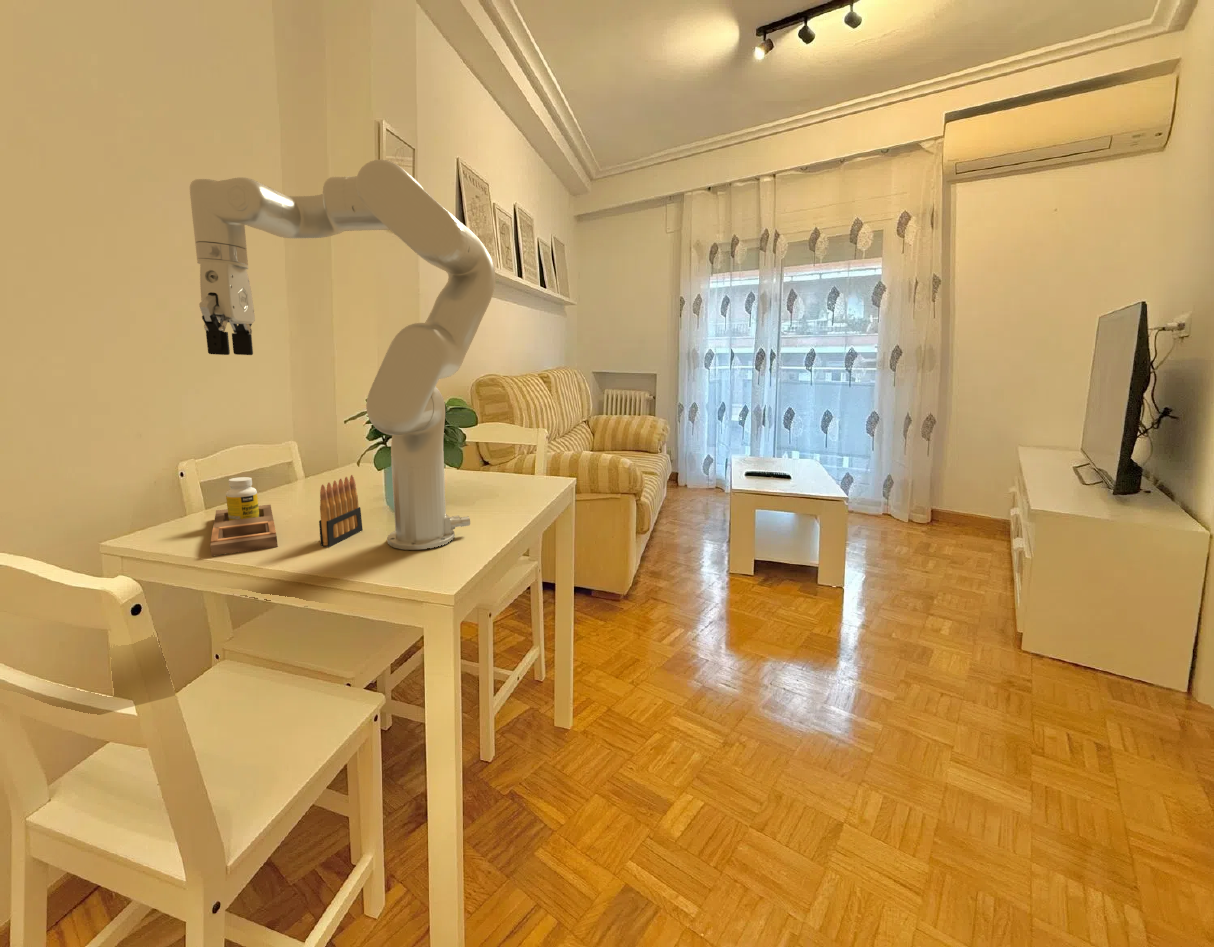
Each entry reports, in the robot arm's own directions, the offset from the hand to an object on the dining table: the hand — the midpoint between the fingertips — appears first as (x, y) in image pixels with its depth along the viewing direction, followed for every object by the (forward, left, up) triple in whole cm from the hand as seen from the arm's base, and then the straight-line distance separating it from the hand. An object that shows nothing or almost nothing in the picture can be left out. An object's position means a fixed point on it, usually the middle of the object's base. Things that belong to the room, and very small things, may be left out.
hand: (231, 354), depth 98 cm
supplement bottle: (+1, -9, -35) cm, 37 cm away
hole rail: (+1, -2, -35) cm, 35 cm away
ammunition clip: (-15, +11, -36) cm, 40 cm away
